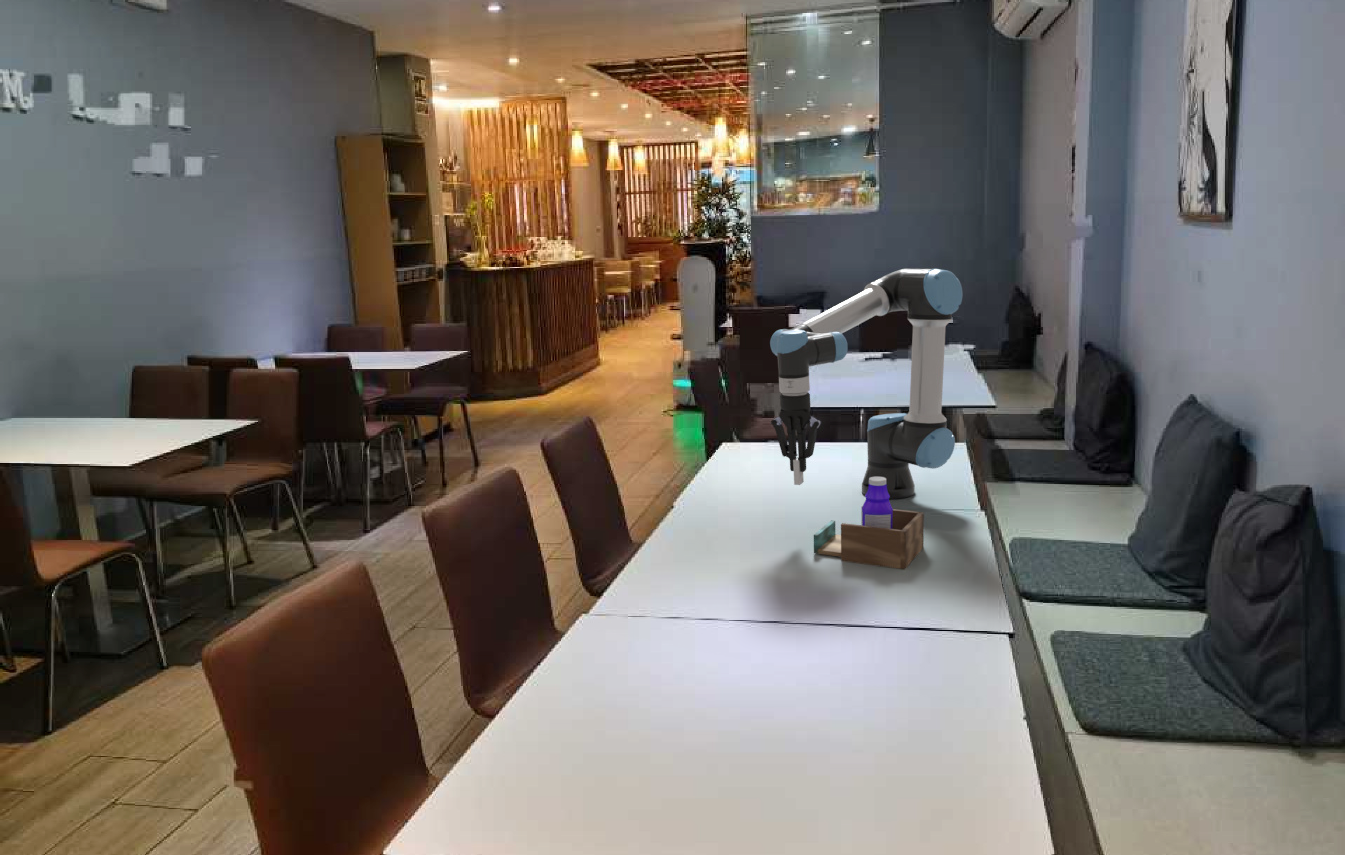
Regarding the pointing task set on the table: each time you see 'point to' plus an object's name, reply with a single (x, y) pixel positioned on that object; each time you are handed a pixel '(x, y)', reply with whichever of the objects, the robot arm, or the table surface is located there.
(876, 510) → the bottle
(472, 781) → the table surface
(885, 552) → the housing
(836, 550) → the tray
